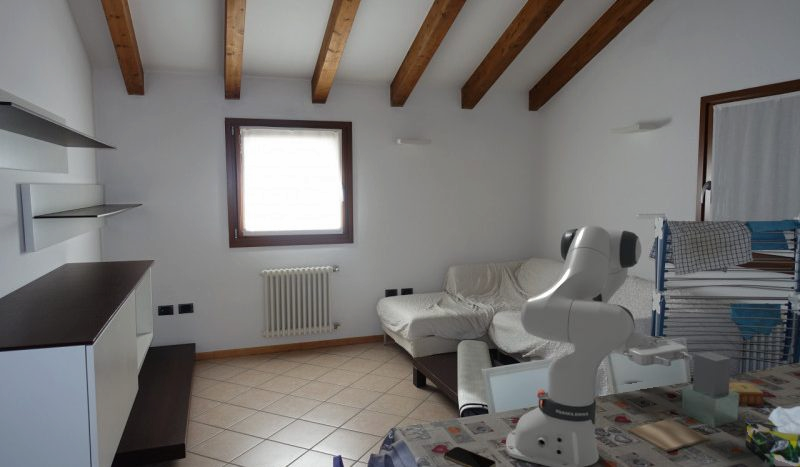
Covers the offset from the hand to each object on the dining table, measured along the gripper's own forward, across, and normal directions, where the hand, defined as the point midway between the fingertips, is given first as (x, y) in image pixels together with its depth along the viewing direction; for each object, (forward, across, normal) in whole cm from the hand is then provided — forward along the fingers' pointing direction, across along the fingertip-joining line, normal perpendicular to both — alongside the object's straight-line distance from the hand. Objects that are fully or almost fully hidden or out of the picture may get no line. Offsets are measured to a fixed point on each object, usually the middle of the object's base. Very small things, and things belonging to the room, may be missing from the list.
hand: (680, 361), depth 159 cm
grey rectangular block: (+10, 0, +5) cm, 11 cm away
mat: (+13, -21, +13) cm, 28 cm away
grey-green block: (+10, 0, +13) cm, 17 cm away
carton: (+3, +19, +14) cm, 24 cm away
